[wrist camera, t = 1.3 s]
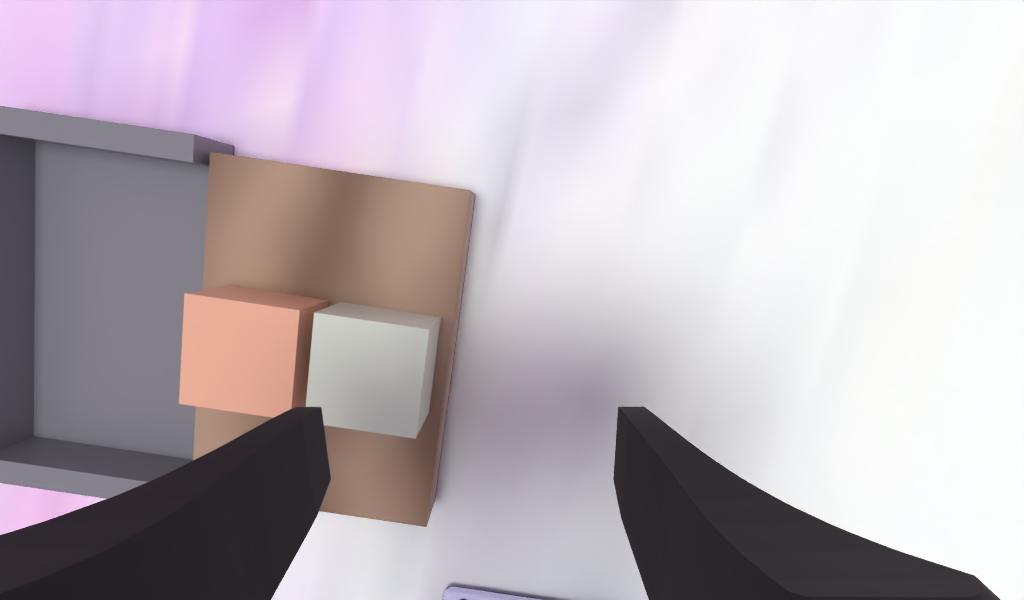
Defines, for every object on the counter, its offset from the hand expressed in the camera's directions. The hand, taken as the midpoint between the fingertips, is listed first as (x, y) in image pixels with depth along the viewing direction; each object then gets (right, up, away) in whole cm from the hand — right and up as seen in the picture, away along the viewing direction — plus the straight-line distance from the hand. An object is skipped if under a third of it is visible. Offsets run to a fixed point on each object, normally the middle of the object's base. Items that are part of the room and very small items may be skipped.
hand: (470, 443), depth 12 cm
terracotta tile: (-9, +2, +8) cm, 12 cm away
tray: (-16, +3, +10) cm, 19 cm away
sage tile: (-4, +1, +8) cm, 9 cm away
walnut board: (-7, +2, +10) cm, 12 cm away
